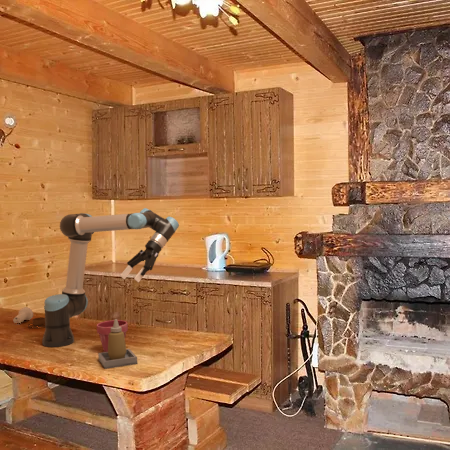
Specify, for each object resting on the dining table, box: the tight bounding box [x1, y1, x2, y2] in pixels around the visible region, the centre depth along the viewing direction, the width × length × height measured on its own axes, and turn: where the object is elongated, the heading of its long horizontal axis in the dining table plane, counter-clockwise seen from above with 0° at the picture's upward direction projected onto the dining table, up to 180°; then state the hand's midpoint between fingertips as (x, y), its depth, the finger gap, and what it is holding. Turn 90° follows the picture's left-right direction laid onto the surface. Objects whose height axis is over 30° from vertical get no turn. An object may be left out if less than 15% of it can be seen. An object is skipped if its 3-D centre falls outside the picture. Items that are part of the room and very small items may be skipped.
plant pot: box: [96, 319, 129, 352], centre depth 249 cm, size 14×14×13 cm
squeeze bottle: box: [108, 318, 127, 360], centre depth 231 cm, size 8×8×18 cm
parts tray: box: [97, 348, 138, 370], centre depth 231 cm, size 14×14×3 cm
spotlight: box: [12, 306, 34, 324], centre depth 312 cm, size 8×11×8 cm
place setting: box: [27, 316, 46, 329], centre depth 299 cm, size 18×20×6 cm
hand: (129, 279), depth 247 cm, fingers open, 13 cm apart
